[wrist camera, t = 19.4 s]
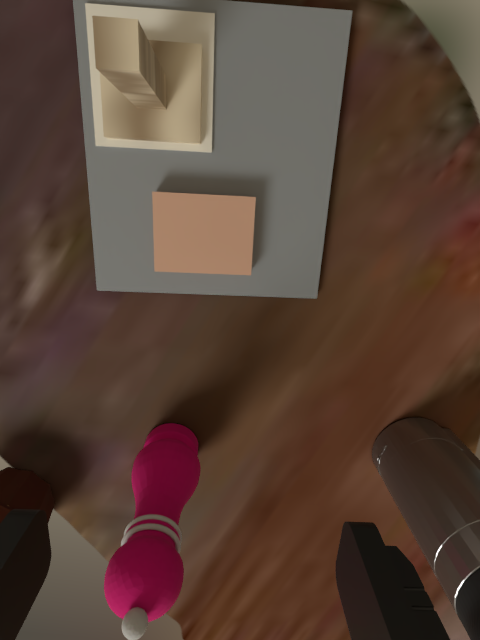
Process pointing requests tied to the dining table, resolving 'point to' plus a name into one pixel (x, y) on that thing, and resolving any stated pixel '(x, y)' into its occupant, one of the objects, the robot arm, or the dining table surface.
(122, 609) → the pepper mill
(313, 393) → the dining table surface
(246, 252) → the tile
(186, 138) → the square plate with post
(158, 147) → the plate
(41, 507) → the muffin
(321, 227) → the mat
